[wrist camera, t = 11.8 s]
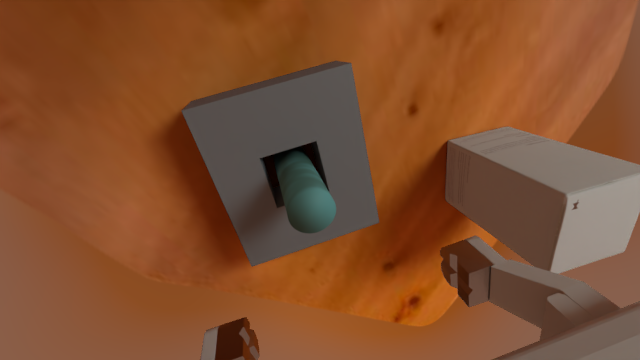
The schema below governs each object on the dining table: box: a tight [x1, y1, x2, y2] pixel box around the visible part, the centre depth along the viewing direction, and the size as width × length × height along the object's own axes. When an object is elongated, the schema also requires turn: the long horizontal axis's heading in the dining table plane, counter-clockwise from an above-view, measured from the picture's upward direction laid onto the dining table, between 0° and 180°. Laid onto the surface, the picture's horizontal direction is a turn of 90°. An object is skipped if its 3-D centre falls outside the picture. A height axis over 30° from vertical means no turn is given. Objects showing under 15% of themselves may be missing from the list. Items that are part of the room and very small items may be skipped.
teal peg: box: [273, 146, 336, 233], centre depth 22 cm, size 3×3×10 cm
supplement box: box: [445, 127, 640, 274], centre depth 26 cm, size 7×7×13 cm
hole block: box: [182, 61, 379, 266], centre depth 25 cm, size 12×14×4 cm
